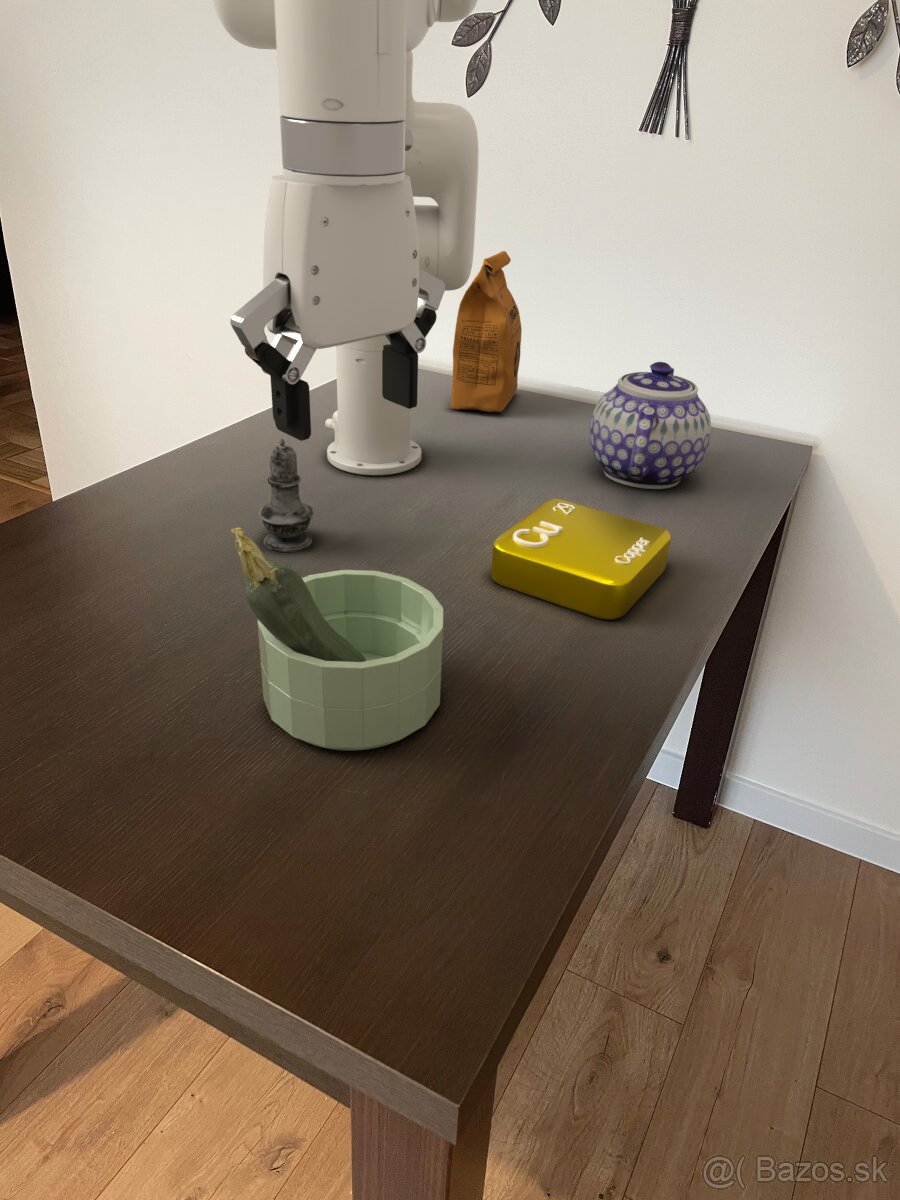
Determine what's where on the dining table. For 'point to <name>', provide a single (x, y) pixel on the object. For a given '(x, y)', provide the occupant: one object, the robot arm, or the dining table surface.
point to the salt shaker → (285, 504)
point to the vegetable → (289, 606)
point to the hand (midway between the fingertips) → (348, 418)
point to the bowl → (359, 664)
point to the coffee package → (486, 341)
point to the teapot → (650, 429)
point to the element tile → (581, 558)
